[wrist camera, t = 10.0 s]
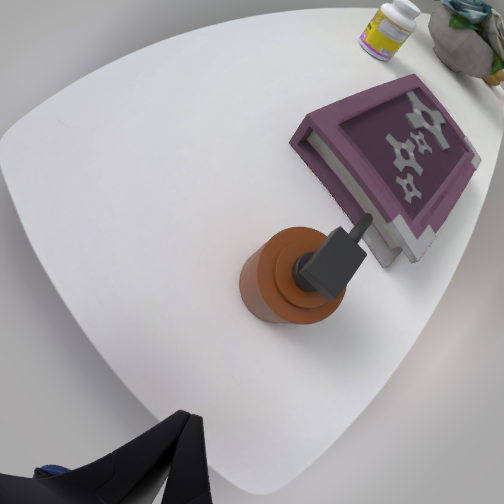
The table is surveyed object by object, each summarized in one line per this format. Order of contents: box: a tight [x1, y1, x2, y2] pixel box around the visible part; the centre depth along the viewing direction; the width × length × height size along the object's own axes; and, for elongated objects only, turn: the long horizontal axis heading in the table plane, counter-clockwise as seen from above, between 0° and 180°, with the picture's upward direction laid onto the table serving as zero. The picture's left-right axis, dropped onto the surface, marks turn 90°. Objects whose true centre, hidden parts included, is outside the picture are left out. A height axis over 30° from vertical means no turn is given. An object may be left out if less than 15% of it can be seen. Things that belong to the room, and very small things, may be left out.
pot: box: [483, 70, 504, 86], centre depth 51 cm, size 12×12×10 cm
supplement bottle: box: [359, 0, 421, 61], centre depth 31 cm, size 7×7×13 cm
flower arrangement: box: [428, 0, 504, 78], centre depth 36 cm, size 25×25×24 cm
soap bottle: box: [239, 227, 347, 324], centre depth 20 cm, size 6×6×7 cm
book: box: [289, 74, 482, 268], centre depth 29 cm, size 25×16×5 cm, turn 129°
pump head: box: [299, 213, 373, 300], centre depth 15 cm, size 6×2×2 cm, turn 138°
